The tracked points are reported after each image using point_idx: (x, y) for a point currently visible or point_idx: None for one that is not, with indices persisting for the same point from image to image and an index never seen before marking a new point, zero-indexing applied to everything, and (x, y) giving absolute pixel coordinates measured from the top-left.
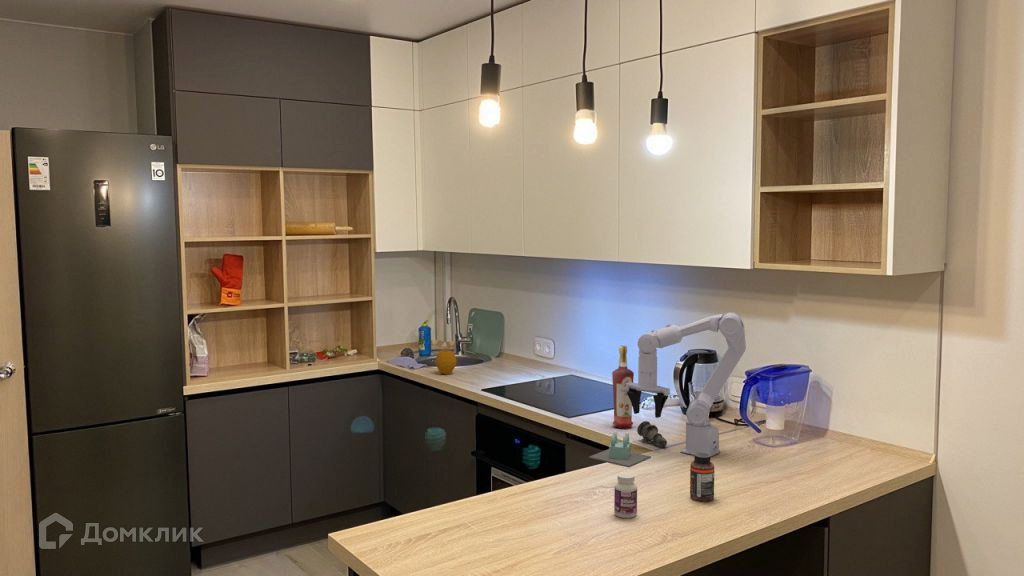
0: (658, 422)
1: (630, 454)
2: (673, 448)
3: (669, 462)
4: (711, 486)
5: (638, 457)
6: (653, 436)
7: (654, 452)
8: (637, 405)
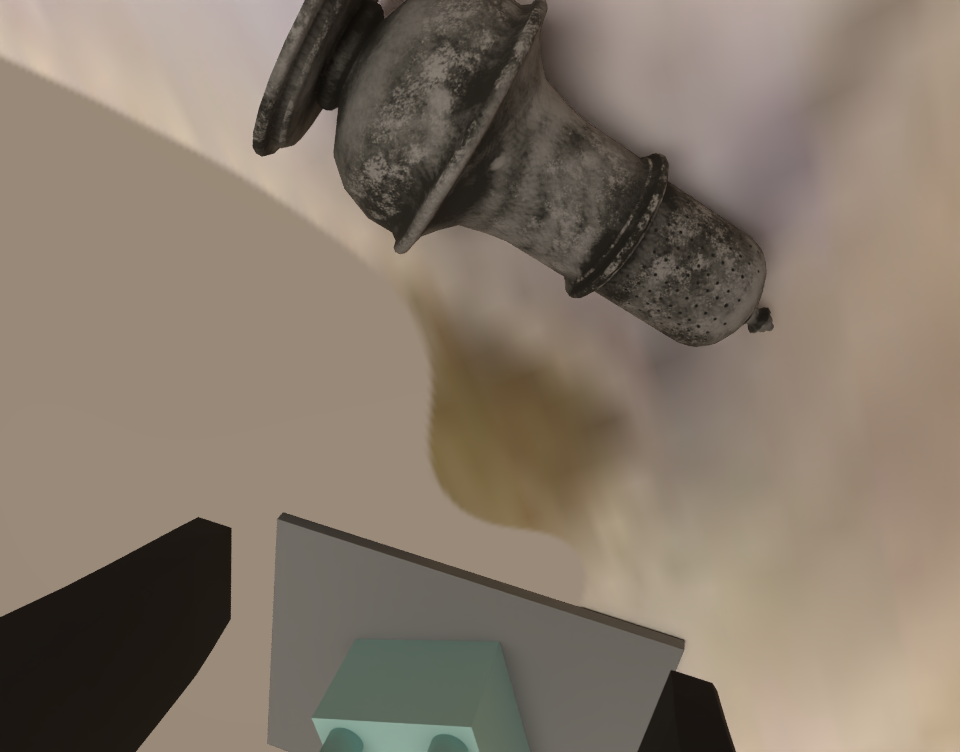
0: None
1: (501, 655)
2: (856, 256)
3: (892, 721)
4: None
5: (589, 697)
6: (561, 273)
7: (670, 482)
8: (122, 682)
